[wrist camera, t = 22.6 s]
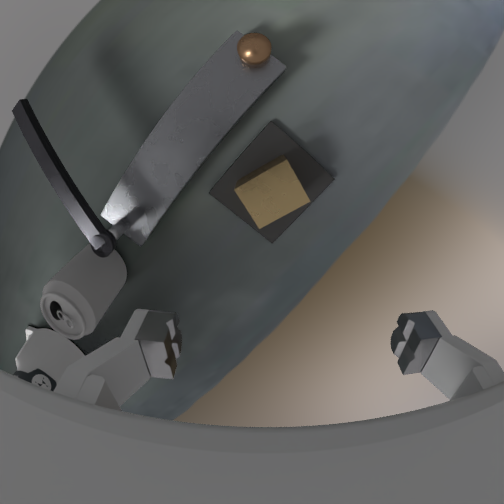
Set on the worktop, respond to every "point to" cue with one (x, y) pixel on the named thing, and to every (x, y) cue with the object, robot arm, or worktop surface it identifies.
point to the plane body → (191, 133)
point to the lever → (63, 181)
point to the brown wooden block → (271, 191)
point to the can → (82, 292)
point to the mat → (260, 153)
